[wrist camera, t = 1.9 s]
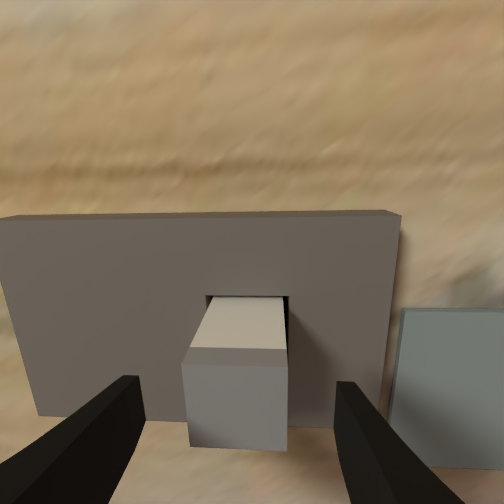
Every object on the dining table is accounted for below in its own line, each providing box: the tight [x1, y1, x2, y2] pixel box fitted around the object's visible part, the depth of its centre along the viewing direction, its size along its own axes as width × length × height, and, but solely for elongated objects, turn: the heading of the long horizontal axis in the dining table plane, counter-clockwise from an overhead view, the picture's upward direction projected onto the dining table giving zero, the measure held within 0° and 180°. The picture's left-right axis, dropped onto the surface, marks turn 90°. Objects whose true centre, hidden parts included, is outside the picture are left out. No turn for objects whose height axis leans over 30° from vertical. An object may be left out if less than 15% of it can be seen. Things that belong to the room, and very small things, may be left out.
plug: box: [181, 295, 288, 451], centre depth 13 cm, size 4×4×7 cm
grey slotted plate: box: [0, 210, 402, 428], centre depth 16 cm, size 20×12×2 cm, turn 91°
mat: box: [387, 308, 504, 471], centre depth 17 cm, size 11×11×1 cm
